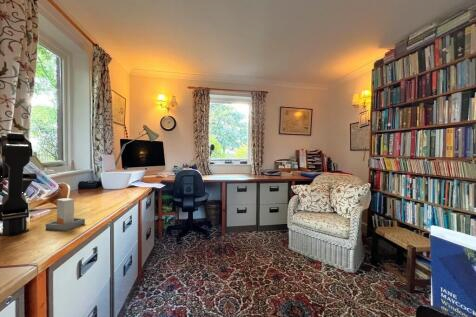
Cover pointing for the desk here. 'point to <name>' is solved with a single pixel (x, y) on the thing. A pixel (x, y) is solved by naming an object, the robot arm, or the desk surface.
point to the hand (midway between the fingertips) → (11, 196)
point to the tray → (61, 227)
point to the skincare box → (65, 211)
